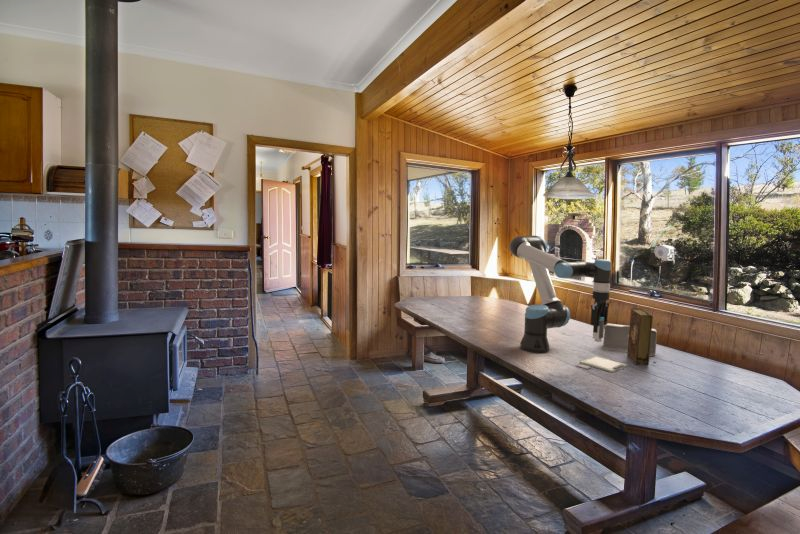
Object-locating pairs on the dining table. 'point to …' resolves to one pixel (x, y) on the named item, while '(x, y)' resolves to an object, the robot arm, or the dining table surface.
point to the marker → (600, 329)
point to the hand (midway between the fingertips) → (598, 337)
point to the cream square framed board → (603, 364)
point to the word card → (583, 366)
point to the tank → (623, 338)
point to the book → (639, 336)
